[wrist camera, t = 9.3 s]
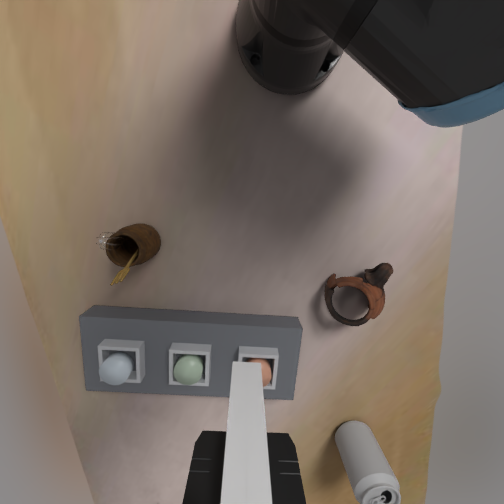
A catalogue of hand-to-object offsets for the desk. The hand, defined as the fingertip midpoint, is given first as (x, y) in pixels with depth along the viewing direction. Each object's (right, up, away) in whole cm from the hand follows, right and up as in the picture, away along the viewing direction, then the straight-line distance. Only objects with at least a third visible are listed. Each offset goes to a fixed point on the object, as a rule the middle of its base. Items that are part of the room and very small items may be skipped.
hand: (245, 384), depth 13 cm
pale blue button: (-21, -11, +26) cm, 35 cm away
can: (+21, -30, +38) cm, 52 cm away
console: (-10, -10, +32) cm, 35 cm away
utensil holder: (-17, +9, +28) cm, 34 cm away
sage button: (-10, -11, +28) cm, 31 cm away
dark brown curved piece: (+18, +1, +31) cm, 36 cm away
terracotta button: (+1, -12, +28) cm, 30 cm away
